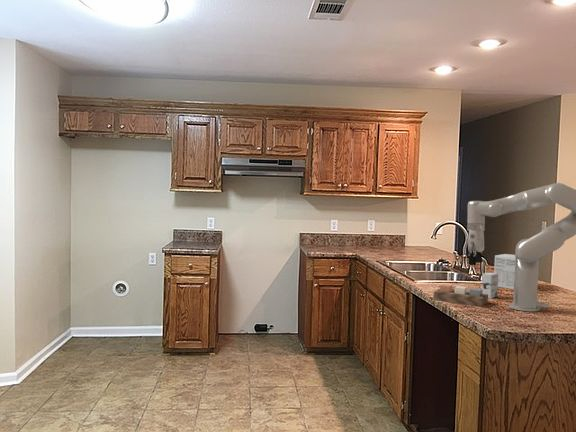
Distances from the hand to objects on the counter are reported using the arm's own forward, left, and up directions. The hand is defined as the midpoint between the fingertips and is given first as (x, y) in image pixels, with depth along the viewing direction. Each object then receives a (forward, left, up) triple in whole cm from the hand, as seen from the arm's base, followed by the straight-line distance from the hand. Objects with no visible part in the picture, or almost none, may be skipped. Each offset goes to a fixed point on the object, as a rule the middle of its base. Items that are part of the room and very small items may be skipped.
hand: (475, 263), depth 227 cm
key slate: (-1, 0, -16) cm, 16 cm away
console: (+6, 0, -19) cm, 19 cm away
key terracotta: (+13, 0, -16) cm, 20 cm away
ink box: (-2, -21, -19) cm, 28 cm away
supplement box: (-4, -58, -19) cm, 61 cm away
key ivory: (+6, 0, -16) cm, 17 cm away
